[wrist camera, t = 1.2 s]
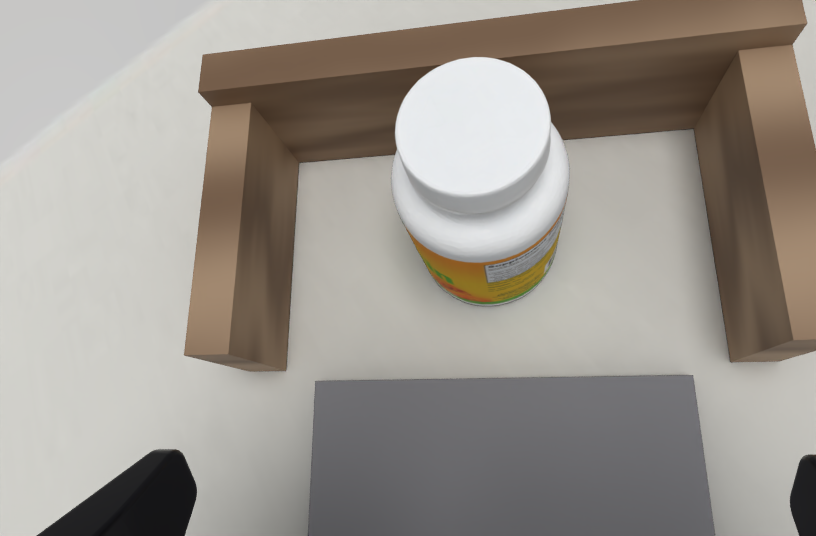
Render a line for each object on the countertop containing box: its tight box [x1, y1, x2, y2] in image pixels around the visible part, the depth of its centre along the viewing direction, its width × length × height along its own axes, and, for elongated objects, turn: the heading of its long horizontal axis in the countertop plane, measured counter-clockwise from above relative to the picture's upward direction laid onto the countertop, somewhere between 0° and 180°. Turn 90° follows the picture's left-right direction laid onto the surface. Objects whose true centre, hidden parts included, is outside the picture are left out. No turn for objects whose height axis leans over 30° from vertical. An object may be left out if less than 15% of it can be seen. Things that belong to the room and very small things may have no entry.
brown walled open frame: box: [184, 0, 816, 371], centre depth 21 cm, size 11×20×6 cm, turn 90°
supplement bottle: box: [391, 57, 570, 306], centre depth 19 cm, size 5×5×10 cm
